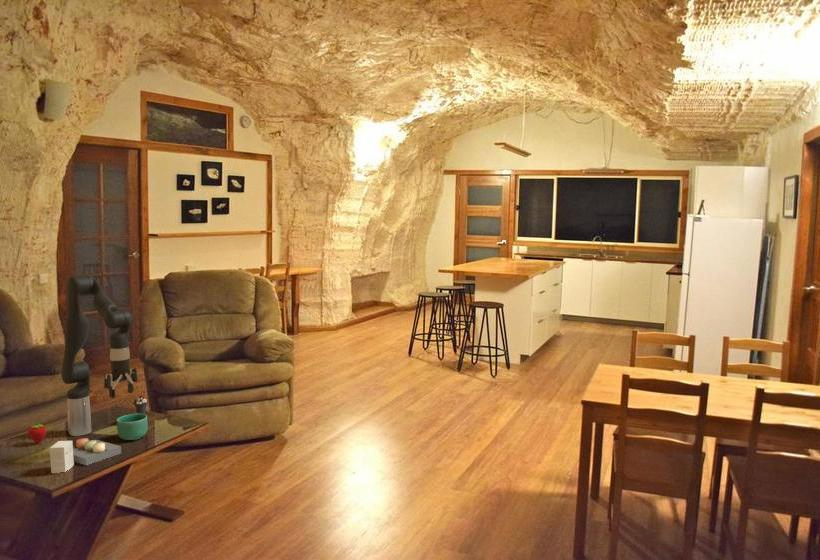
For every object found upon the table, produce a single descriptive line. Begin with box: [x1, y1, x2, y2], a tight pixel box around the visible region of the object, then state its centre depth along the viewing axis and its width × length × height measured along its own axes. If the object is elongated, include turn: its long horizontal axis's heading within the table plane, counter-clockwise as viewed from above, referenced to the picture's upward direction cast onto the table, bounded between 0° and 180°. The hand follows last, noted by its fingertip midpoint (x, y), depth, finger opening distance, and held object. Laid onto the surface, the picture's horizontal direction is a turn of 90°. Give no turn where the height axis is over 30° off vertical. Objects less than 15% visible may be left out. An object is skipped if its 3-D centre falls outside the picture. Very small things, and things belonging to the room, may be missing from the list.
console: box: [73, 439, 122, 466], centre depth 274 cm, size 17×16×3 cm
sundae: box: [132, 391, 149, 415], centre depth 318 cm, size 7×7×15 cm
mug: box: [116, 413, 149, 441], centre depth 297 cm, size 17×13×10 cm
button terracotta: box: [75, 437, 89, 449], centre depth 277 cm, size 5×5×4 cm
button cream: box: [93, 443, 105, 454], centre depth 271 cm, size 5×5×4 cm
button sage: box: [84, 439, 97, 452], centre depth 274 cm, size 5×5×4 cm
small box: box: [49, 440, 75, 474], centre depth 259 cm, size 8×6×10 cm
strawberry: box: [27, 423, 48, 445], centre depth 289 cm, size 6×8×10 cm
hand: (121, 395), depth 278 cm, fingers open, 8 cm apart
